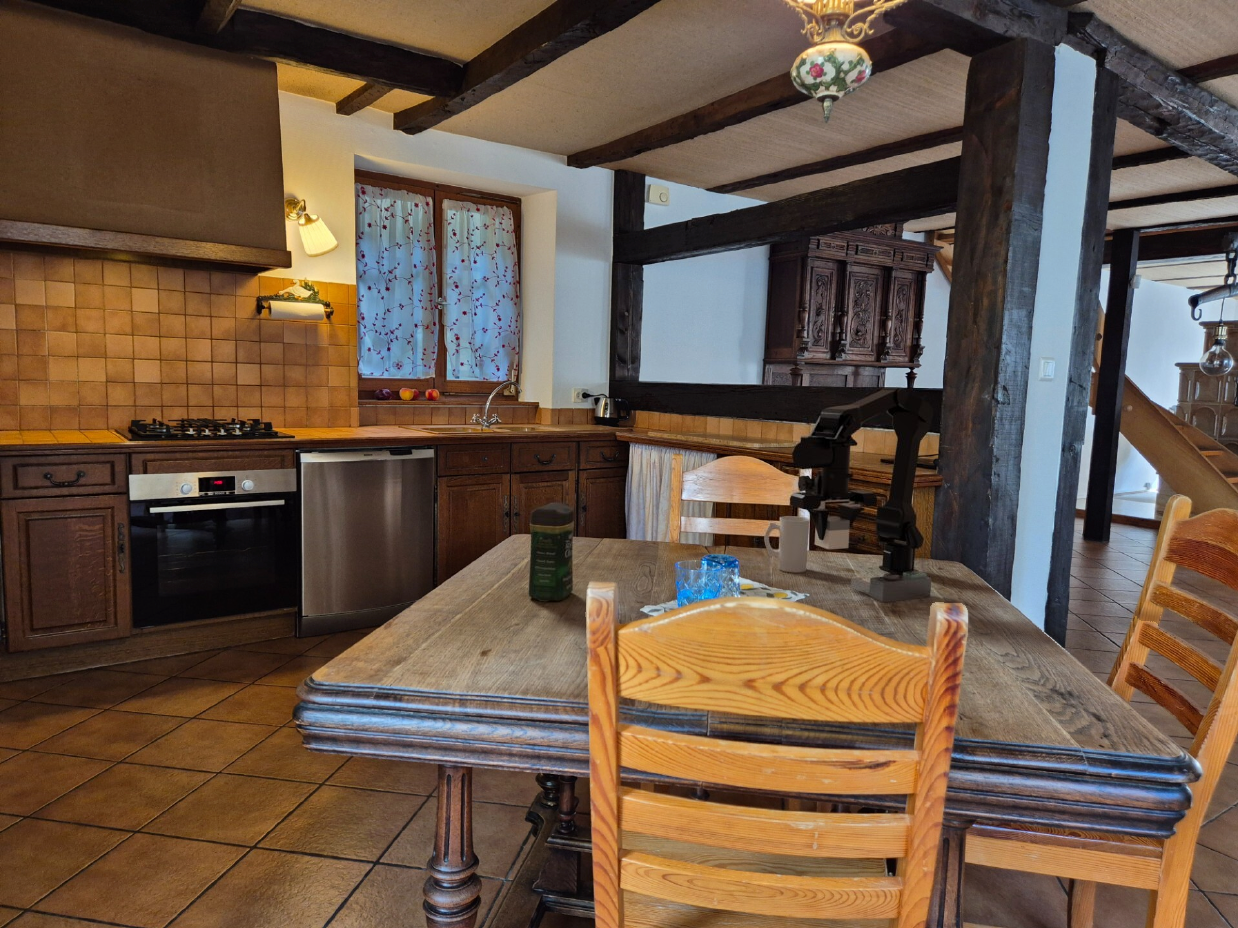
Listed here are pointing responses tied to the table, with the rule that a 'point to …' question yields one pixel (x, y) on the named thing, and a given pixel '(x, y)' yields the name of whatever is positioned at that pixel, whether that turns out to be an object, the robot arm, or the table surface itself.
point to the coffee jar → (551, 552)
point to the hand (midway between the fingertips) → (831, 539)
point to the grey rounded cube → (835, 534)
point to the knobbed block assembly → (895, 586)
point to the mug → (790, 543)
